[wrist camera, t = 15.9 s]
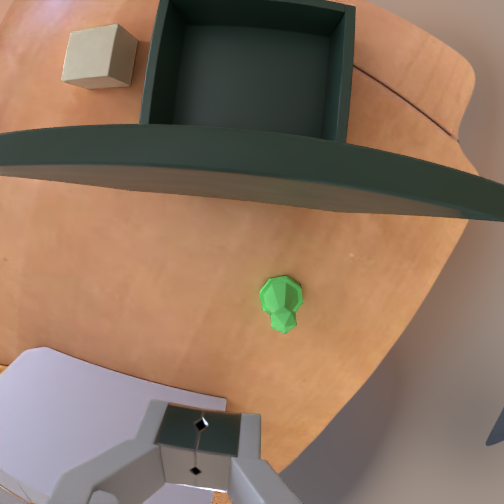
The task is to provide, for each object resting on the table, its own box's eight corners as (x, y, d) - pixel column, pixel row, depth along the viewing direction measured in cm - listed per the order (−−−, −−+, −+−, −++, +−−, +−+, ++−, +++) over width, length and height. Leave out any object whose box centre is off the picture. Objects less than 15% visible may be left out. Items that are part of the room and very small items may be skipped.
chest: (181, 22, 24) (161, -9, 17) (337, 35, 24) (355, 6, 17) (161, 177, 28) (134, 184, 22) (320, 194, 28) (337, 205, 22)
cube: (95, 45, 24) (70, 31, 20) (138, 40, 24) (118, 23, 20) (87, 89, 26) (60, 81, 21) (130, 86, 26) (107, 75, 21)
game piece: (310, 301, 31) (320, 332, 26) (273, 322, 32) (275, 355, 26) (289, 267, 30) (294, 292, 25) (250, 289, 31) (247, 318, 26)
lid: (-59, 143, 5) (-63, 171, 5) (513, 187, 5) (511, 222, 5) (132, 179, 21) (131, 190, 22) (339, 200, 21) (338, 212, 22)
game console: (221, 427, 37) (201, 562, 18) (40, 372, 37) (-32, 462, 17) (228, 398, 36) (206, 547, 16) (34, 341, 35) (-52, 431, 16)
